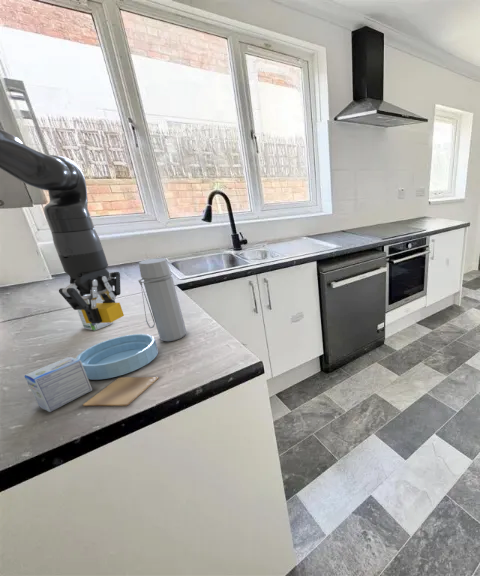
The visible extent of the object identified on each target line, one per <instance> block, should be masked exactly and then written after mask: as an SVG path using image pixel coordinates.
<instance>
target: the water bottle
mask: <svg viewBox="0 0 480 576" xmlns="http://www.w3.org/2000/svg"><path fill="white" fill-rule="evenodd" d="M138 267H139V272H140V273H139V274H140V277H141V279H138V280H137V281H138V283H139V285H140V287H141V289H142V291H141V294H142V296H144V297H145V299H144V298H142V302H143V303H145V300H146V304H147V307H148V310H149V312H150V317H151V319H152V321H153V325H150V324H149V321H148V318H147V313H146V311H144V315H145V322H146V325H147V326H148V328H149V329H153V328H154V327H155V326H156V329H157V333H158V336H159V339H160V340H161V341H163V342H175V341H178V340H180V339H182V338H183V337H185V336H186V334H187V328H186V324H185V320H184V317H183V312H182V309H181V305H180V302H179V297H178V294H177V290H176V286H175V283H174V278H173V273H172V271H171V269H170V266H169V263H168V261H167V259H166V258H164V257H163V258H162V257H159V258H158V257H157V258H149V259H145V260H141V261H139V262H138ZM143 286H144V287H143ZM143 308H144V310H146V306H145V304H143Z"/></svg>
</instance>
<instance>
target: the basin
mask: <svg viewBox="0 0 480 576" xmlns="http://www.w3.org/2000/svg"><path fill="white" fill-rule="evenodd" d="M158 354H159V349H158V345H157V342H156V339H155V337H154V336H153V335H151V334H147V333H134V334H133V333H132V334H126V335H121V336H117V337H113V338H110V339H107V340H104V341H100V342H98V343H96V344H94V345H92V346H90V347H88V348H86V349H84V350H82V351H81V353H79V354H78V355H77V356H76V358H75V359H78V360H81V362H82V365H83V368H84V370H85V373H86V375H87V378H88V380H89V381H91V380H93V381H95V380H96V381H97V380H106V379H111V378H116V377H121V376H124V375H126V374H129V373H132V372H134V371H136V370H139V369H141V368H144V366H147V365H148V364H149V363H151V362H152V361H153V360H155V358H156V357H157V356H158Z"/></svg>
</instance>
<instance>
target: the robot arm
mask: <svg viewBox="0 0 480 576" xmlns="http://www.w3.org/2000/svg"><path fill="white" fill-rule="evenodd" d="M0 170H1V171H3V172H5V174H8V175H9V176H11V177H12V178H14V179H16V180H18V181H20V182H22V183H24V184H25V185H28V186H30V187H32V188H36V189H39V190H43V191H47V192H48V198H49V202H48V203H47V204H46V205H45V206H44V207H43V213H44V217H45V219H46V222H47V225H48V228H49V230H50V232H51V236H52V242H53V245H54V248H55V250H56V253H57V255H58V258H59V261H60V264H61V266H62V269H63V272H64V273H65V274H67V275H68V276H69V284H68V285H67V286H66V287H61V288H59V289H58V293H59V294H60V295H61V296H62V297H63V298H64V299H63V300H65V302H67V303H68V305H69V306H70V307H71V308H72V309H73V310H74V311H78V310H85V312H86V315H87V317H88V320H89V321H90V322H91V323H93V324H94V323H101V322H102V319H101V316H100V313H99V310H98V308H96V307H97V306H96V299H97V298H98V294H99V296H100V297H101V299H102V300H104V301H103V303H116V297H117V296H120V295H121V273H120V272H119V271H108V270H107V268H108V267H109V263H108V260H107V257H106V254H105V251H104V248H103V245H102V241H101V239H100V236H99V235H98V233H97V231H96V229H95V225H94V222H93V219H92V216H91V214H90V210H89V206H88V204H89V203H88V200H89V199H88V198H89V197H88V190H87V189H88V188H87V182H86V177H85V175H84V173H83V172H82V169H81V168H80V167H79V165H77V163H75V162H74V161H73V160H71V159H70V158H68V157H65V156H61V155H57V154H56V155H55V154H46V153H43V152H41V151H38V150H36V149H33V148H31V147H29V146H28V145H25V144H24V142H23V141H21V139H19V137H17V136H15V135H13V134H12V133H10V132H8V131H6V130H5V129H2V128H0ZM85 294H90V296H87V295H85ZM88 300H89V304H88Z"/></svg>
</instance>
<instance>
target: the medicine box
mask: <svg viewBox="0 0 480 576" xmlns="http://www.w3.org/2000/svg"><path fill="white" fill-rule="evenodd" d="M24 379H25V381H26V382H27V385H28V387H29V388H30V390H31V393H32V395H33V398H34V399H35V401H36V404H37V405H38V407H39V408H41V409H42V410H45V411H46V412H48V413H51V412H54V411H55V410H57V409H59V408H61V407H63V406H65V405H67V404H69V403H71V402H73V401H74V400H76V399H78V398H80V397H83V396H84V395H86V394H88V393H90V392H92V391H93V387H92V386H91V382H90V379H88V378H87V375H86V373H85V370H84V368H83V365H82V362H81V360H78V359H76V358H75V357H71V356H67V357H65V358H62V359H60V360H58V361H55V362H52V363H50V364H47V365H45V366H43V367H41V368H38V369H36V370H34V371H31V372H29V373H26V374H24Z"/></svg>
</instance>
